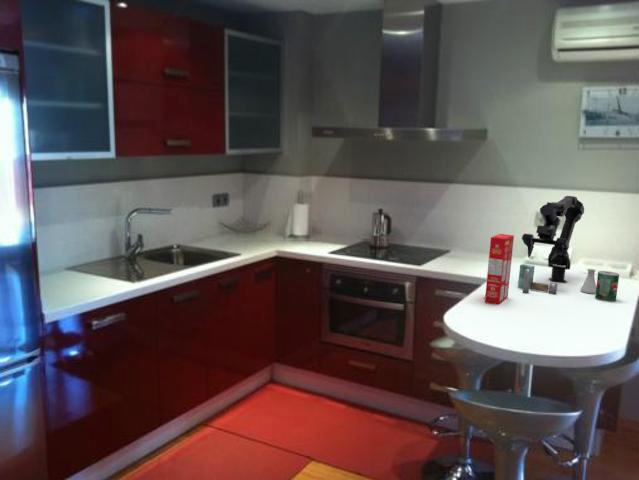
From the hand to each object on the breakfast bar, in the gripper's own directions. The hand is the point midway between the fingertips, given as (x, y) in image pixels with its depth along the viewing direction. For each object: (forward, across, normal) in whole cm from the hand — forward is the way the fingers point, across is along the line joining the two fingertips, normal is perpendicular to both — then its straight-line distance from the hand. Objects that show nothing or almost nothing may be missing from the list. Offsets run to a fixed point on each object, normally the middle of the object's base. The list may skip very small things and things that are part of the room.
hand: (539, 258), depth 255 cm
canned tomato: (+8, +26, +12) cm, 30 cm away
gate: (+12, 0, +5) cm, 13 cm away
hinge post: (+12, +8, +6) cm, 16 cm away
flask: (+3, +18, +19) cm, 26 cm away
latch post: (+18, 0, -2) cm, 18 cm away
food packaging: (+31, -3, -19) cm, 37 cm away
